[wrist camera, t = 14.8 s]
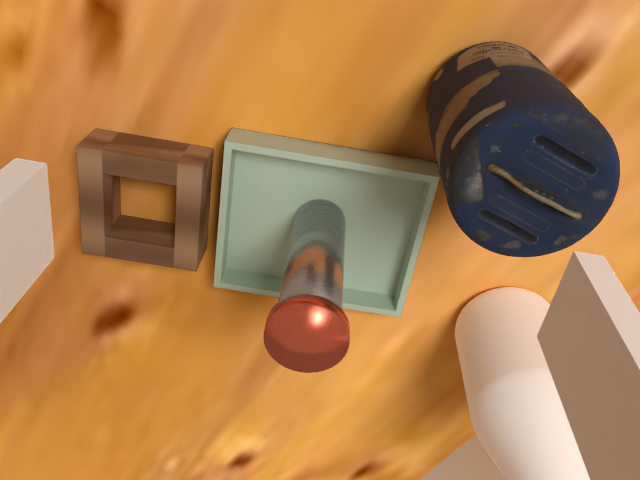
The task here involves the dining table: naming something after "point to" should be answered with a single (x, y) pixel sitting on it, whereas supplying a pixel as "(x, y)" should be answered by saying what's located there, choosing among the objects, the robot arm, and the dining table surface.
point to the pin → (311, 293)
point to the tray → (329, 184)
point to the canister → (518, 152)
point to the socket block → (150, 165)
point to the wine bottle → (514, 388)
